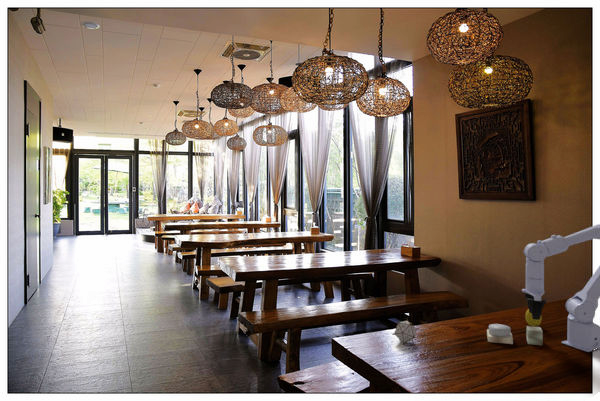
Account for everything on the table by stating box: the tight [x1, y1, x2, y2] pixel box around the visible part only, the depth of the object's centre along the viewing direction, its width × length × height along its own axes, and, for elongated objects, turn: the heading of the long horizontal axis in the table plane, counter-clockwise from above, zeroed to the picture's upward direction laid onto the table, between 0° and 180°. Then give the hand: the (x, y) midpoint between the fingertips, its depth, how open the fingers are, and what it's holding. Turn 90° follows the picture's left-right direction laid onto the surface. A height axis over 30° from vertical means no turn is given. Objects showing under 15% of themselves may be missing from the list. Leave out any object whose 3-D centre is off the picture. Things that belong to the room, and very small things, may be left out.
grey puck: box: [488, 323, 512, 337], centre depth 161 cm, size 7×7×2 cm
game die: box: [391, 318, 419, 346], centre depth 159 cm, size 9×8×10 cm
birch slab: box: [486, 328, 514, 345], centre depth 161 cm, size 8×8×2 cm
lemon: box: [525, 308, 542, 327], centre depth 173 cm, size 6×6×8 cm
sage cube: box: [525, 325, 544, 346], centre depth 157 cm, size 4×4×5 cm
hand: (534, 316), depth 157 cm, fingers open, 7 cm apart
